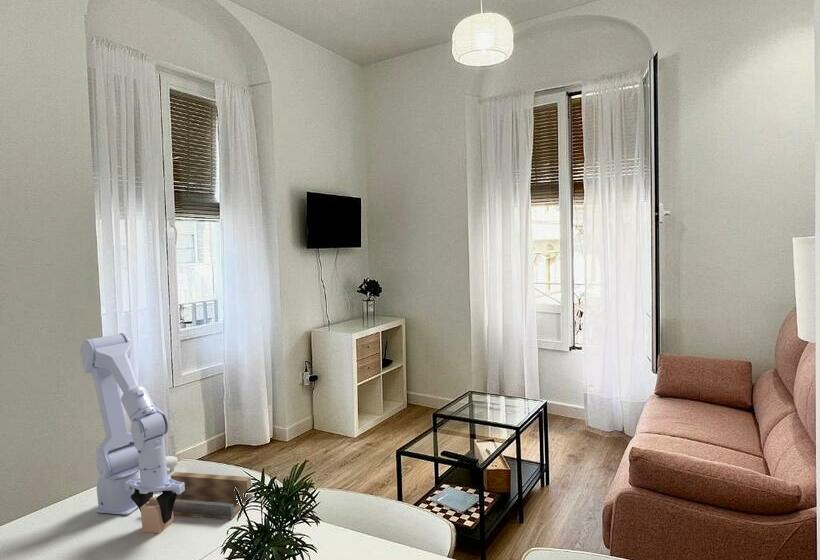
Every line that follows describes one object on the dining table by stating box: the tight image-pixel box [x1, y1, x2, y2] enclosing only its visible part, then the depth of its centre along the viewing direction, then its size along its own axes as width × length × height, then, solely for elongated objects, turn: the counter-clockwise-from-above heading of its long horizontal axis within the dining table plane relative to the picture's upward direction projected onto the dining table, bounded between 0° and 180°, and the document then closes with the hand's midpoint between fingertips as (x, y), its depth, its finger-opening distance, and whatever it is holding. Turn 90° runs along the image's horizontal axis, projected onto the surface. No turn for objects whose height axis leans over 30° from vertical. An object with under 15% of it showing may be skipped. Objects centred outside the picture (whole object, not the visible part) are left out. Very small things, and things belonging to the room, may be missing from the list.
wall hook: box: [166, 455, 187, 479], centre depth 143 cm, size 9×10×10 cm
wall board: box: [171, 472, 253, 521], centre depth 130 cm, size 22×10×6 cm, turn 78°
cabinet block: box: [140, 496, 175, 535], centre depth 121 cm, size 4×5×7 cm
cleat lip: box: [173, 499, 234, 516], centre depth 126 cm, size 22×1×2 cm, turn 78°
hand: (157, 519), depth 121 cm, fingers closed on cabinet block, 4 cm apart
